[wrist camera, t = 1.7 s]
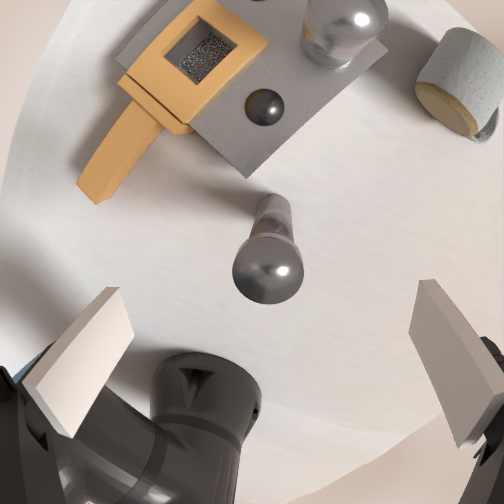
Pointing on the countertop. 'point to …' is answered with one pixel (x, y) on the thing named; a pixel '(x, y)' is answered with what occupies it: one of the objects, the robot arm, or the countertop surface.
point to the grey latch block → (274, 68)
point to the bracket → (165, 95)
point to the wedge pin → (269, 255)
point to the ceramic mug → (463, 84)
